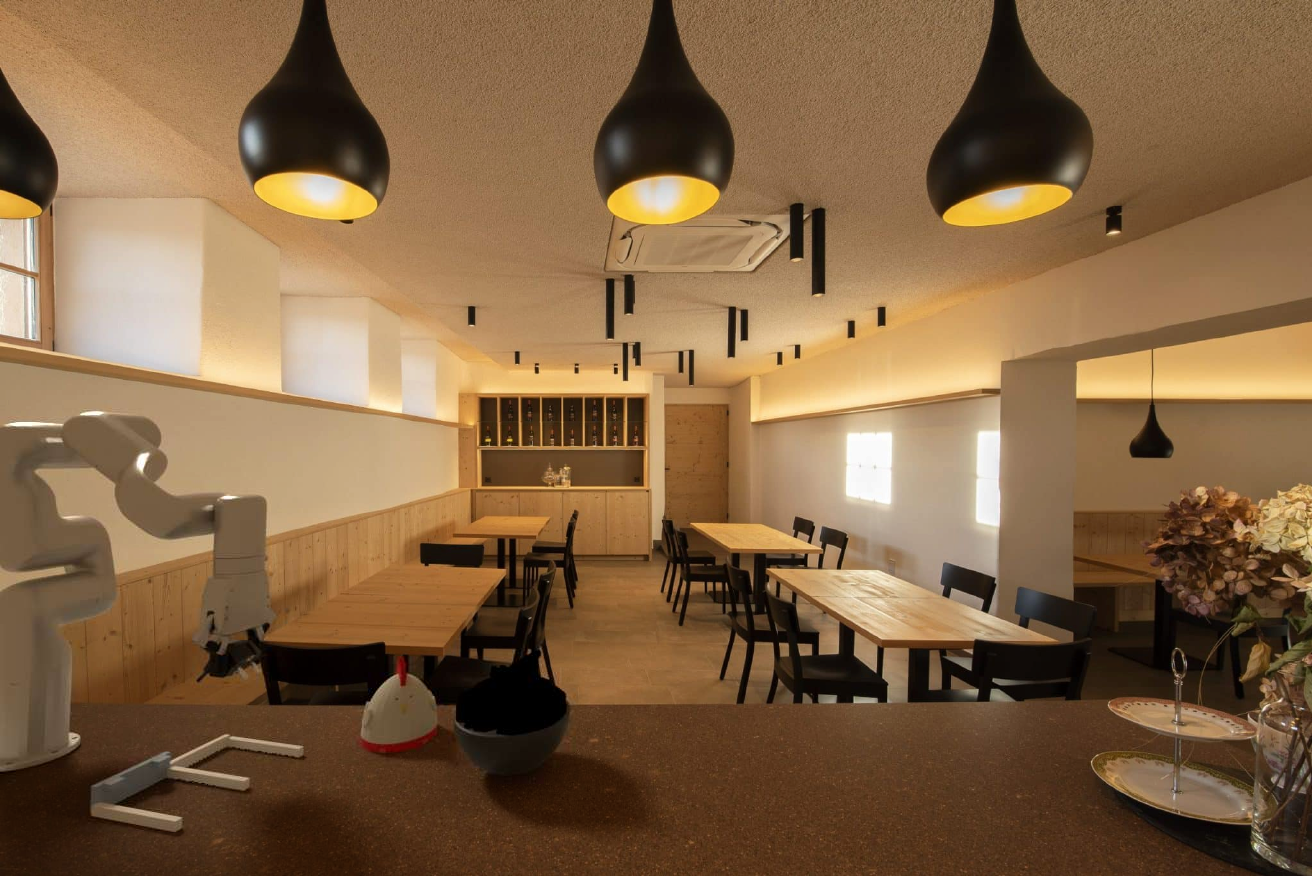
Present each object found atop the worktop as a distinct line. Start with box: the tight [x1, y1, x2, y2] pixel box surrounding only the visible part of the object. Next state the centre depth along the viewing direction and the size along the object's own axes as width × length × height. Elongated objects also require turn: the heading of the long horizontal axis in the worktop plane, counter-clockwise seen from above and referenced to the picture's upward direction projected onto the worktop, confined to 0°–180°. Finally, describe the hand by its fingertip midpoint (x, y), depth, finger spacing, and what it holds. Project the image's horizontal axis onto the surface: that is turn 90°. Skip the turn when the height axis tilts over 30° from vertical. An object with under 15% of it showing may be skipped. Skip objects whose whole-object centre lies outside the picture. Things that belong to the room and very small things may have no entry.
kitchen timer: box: [359, 656, 439, 754], centre depth 117 cm, size 14×14×15 cm
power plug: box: [195, 639, 263, 683], centre depth 104 cm, size 6×8×12 cm
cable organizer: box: [89, 733, 304, 833], centre depth 99 cm, size 17×23×4 cm
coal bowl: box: [453, 649, 572, 777], centre depth 105 cm, size 20×20×19 cm
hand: (235, 668), depth 104 cm, fingers closed on power plug, 5 cm apart
